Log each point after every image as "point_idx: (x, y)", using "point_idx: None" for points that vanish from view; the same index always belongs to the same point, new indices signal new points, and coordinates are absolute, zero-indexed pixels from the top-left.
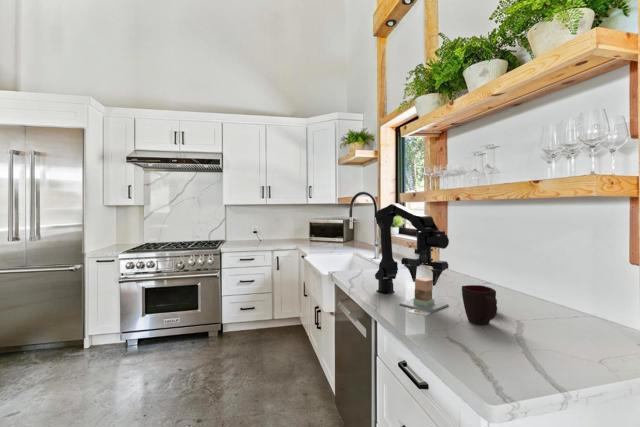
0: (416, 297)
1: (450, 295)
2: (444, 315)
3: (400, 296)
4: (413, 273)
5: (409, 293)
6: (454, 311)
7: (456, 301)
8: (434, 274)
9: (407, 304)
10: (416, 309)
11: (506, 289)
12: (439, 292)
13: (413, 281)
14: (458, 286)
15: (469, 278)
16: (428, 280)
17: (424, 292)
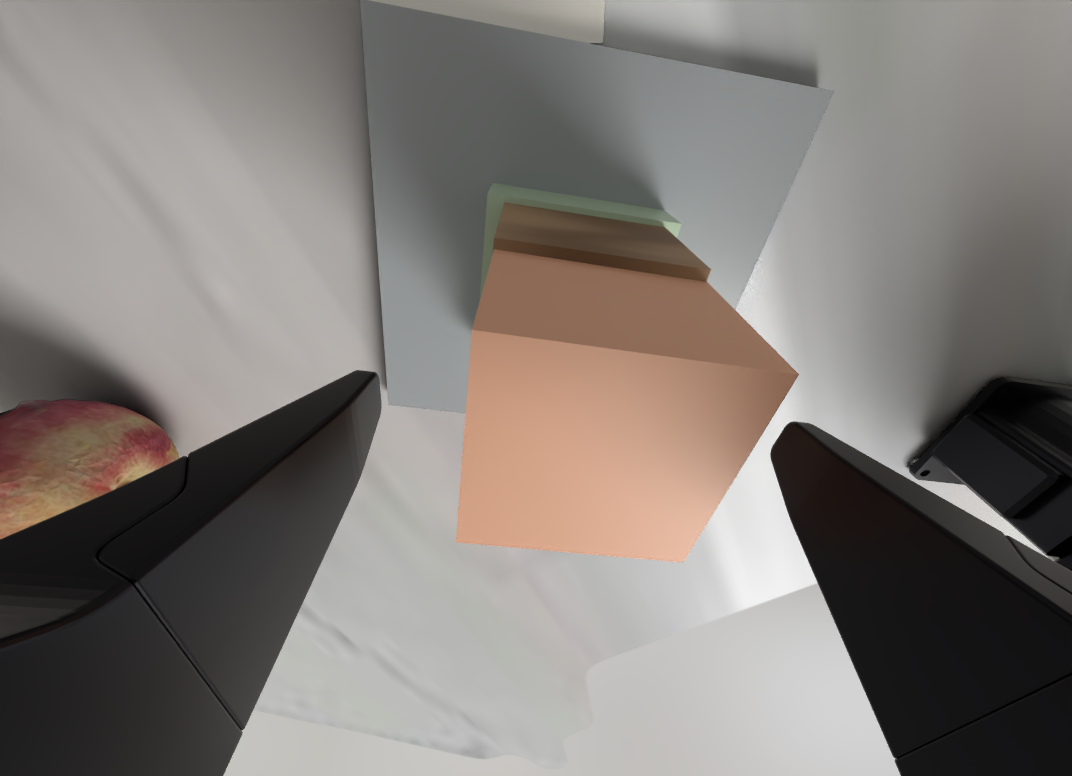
0: (642, 227)
1: (512, 584)
2: (211, 59)
3: (842, 395)
4: (928, 573)
5: (776, 498)
6: (262, 285)
7: (418, 512)
8: (45, 560)
9: (719, 100)
10: (564, 25)
11: (368, 728)
12: (592, 598)
13: (803, 424)
14: (549, 694)
15: (558, 765)
16: (476, 452)
17: (515, 236)
